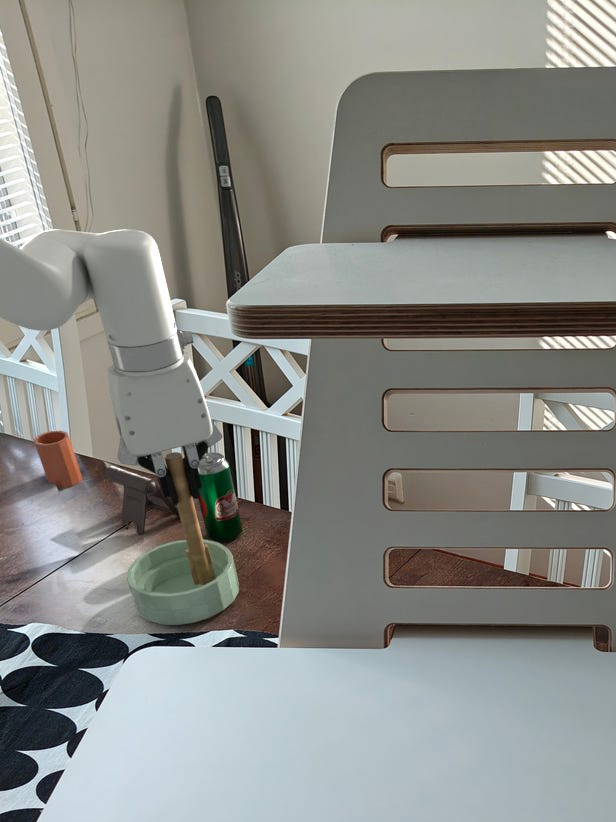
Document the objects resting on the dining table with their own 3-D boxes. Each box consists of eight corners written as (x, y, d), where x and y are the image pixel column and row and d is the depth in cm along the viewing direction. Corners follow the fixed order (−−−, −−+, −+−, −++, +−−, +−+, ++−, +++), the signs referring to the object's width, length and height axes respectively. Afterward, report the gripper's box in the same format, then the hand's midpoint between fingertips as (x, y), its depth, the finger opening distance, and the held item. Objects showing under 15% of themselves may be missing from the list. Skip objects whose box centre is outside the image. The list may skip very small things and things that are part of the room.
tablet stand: (193, 515, 145) (181, 464, 140) (153, 539, 140) (138, 487, 135) (153, 500, 149) (139, 450, 144) (112, 523, 144) (96, 473, 139)
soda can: (226, 547, 138) (208, 471, 130) (200, 538, 140) (181, 463, 133) (250, 531, 141) (234, 455, 134) (224, 522, 143) (208, 447, 136)
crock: (53, 495, 152) (36, 448, 147) (47, 481, 156) (31, 435, 151) (85, 486, 154) (70, 439, 149) (79, 473, 157) (64, 427, 153)
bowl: (151, 640, 121) (140, 608, 118) (126, 589, 130) (116, 557, 127) (253, 607, 126) (246, 575, 123) (222, 560, 135) (215, 529, 132)
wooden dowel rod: (196, 587, 126) (163, 462, 115) (192, 580, 128) (159, 455, 117) (217, 581, 127) (186, 456, 116) (213, 574, 129) (182, 449, 118)
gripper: (207, 326, 114) (237, 468, 125) (66, 356, 108) (111, 501, 120) (226, 346, 109) (255, 492, 120) (79, 378, 103) (125, 529, 114)
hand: (183, 496), depth 120 cm, fingers closed on wooden dowel rod, 2 cm apart
